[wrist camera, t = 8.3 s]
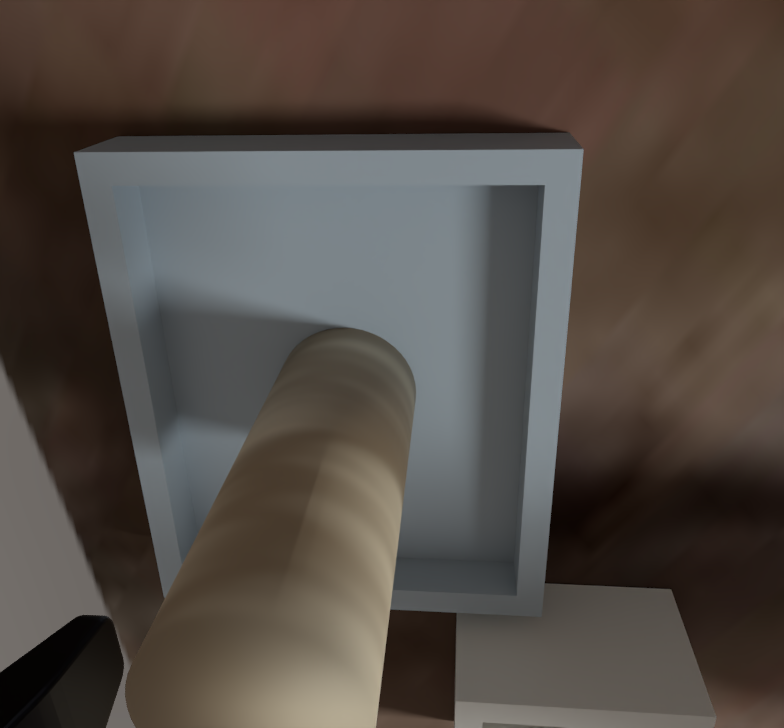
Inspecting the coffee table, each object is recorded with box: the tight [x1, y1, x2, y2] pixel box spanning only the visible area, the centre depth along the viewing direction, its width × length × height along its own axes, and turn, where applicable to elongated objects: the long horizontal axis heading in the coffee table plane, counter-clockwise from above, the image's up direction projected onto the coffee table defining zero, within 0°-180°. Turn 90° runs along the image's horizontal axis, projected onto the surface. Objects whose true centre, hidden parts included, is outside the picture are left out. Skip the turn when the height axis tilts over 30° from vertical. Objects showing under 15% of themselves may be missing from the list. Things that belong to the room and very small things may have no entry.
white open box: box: [454, 583, 716, 728], centre depth 24 cm, size 7×7×5 cm
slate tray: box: [74, 133, 584, 617], centre depth 21 cm, size 12×14×2 cm
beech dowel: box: [125, 328, 416, 728], centre depth 16 cm, size 4×4×11 cm
